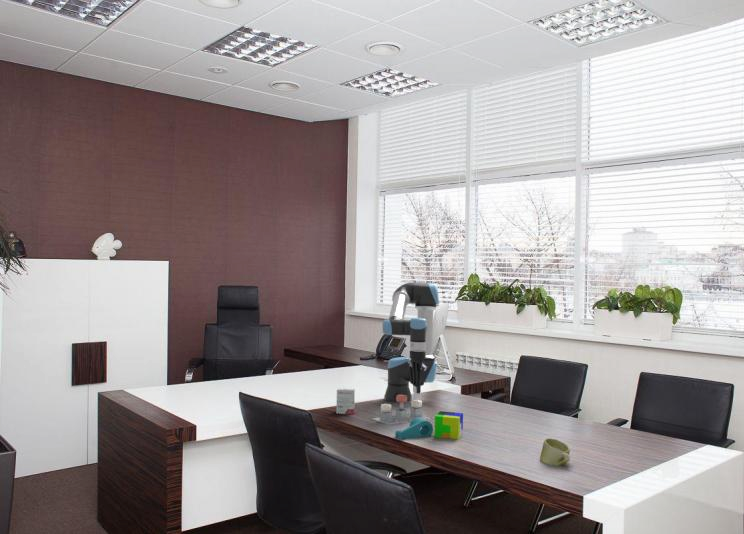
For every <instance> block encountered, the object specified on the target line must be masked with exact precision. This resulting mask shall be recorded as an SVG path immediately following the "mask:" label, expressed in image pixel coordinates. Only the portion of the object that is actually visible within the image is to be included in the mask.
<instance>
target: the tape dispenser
mask: <svg viewBox="0 0 744 534" xmlns="http://www.w3.org/2000/svg"><path fill="white" fill-rule="evenodd" d="M433 432H434V426H433V424H432V423H431V422H430V421H428V420H427V419H426V420H424V419H422V418H419V417H417V418H414V419H413V420H412V421H411V422H409V426H407V427H406V428H403V429H400V430H396V431H395V433H394V435H395V438H398V439H399V438H400V439H399V440H401V439H403V440H406V439H413V438H421V437H422V438H423V437H430V436H432V435H433Z"/></svg>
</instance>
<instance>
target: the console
mask: <svg viewBox="0 0 744 534" xmlns="http://www.w3.org/2000/svg"><path fill="white" fill-rule="evenodd" d="M417 417H419V418H422V419H424V420H426V421H427V420H430V419H431V418H430V417H427V416H424V415H423V407H419V408H415V407H411V406H410V412H408V409H405V408H403V410H400V408H397V409H395V414H393V412H392V411H390V412H388V413H385V412H383V411H381V410H380V411H379V417H375V418H374V417H373V418H372V420H373V421H375V422H376V421H377V422H379V423H381V424H385V425H387V426H392V425H398V424H399V425H400V424H406V423H411V421H412V420H413V419H414V418H417Z"/></svg>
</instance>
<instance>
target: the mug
mask: <svg viewBox="0 0 744 534" xmlns="http://www.w3.org/2000/svg"><path fill="white" fill-rule="evenodd" d="M570 449H571V448H570V447H569V445H568V444H566V443H565V442H562V441H560V440H558V439H556V438H548V437H547V438H546V439H544V441H543V444H542V448H541V453H540V457H539V461H540V462H541V463H543V464H546V465H554V466H563V465H565V464H566V463H569V462H570V458H571V457H570V451H571V450H570Z"/></svg>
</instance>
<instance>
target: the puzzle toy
mask: <svg viewBox="0 0 744 534" xmlns="http://www.w3.org/2000/svg"><path fill="white" fill-rule="evenodd" d="M463 433H464V413H463V412H453V411H444V410H443V411H442V410H440V411H438V413H437V414H436V415H435V416H434V437H435V438H441V439H442V438H445V439H455V440H459V439H460V438H461V436H463Z"/></svg>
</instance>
